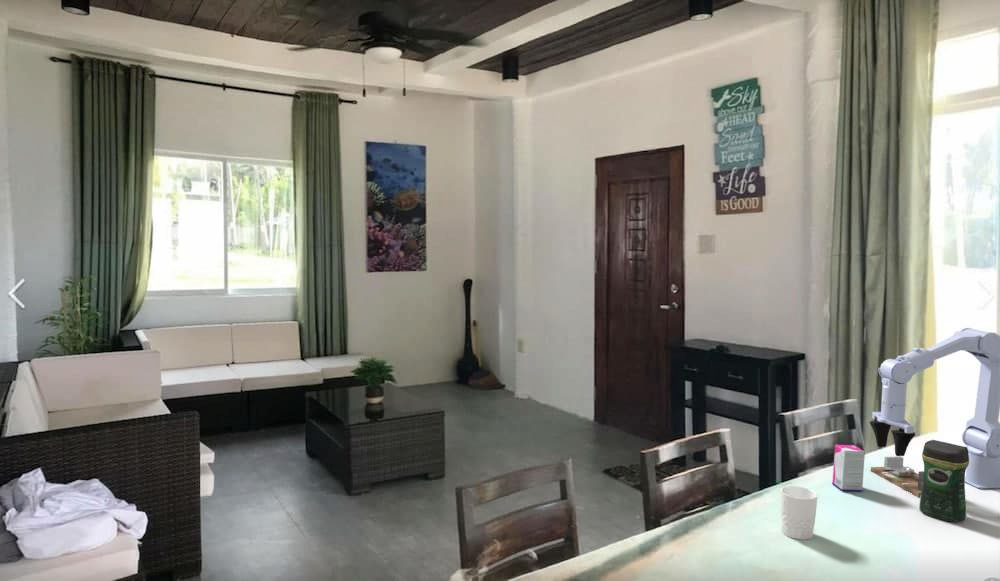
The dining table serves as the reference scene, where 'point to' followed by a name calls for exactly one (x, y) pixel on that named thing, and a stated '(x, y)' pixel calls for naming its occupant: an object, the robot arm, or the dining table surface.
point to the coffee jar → (944, 480)
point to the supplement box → (848, 468)
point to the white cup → (798, 512)
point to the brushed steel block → (897, 467)
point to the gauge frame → (903, 480)
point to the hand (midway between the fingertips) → (890, 451)
